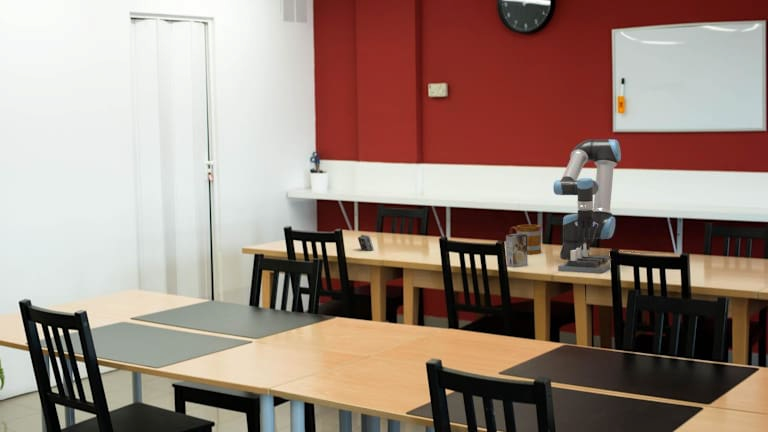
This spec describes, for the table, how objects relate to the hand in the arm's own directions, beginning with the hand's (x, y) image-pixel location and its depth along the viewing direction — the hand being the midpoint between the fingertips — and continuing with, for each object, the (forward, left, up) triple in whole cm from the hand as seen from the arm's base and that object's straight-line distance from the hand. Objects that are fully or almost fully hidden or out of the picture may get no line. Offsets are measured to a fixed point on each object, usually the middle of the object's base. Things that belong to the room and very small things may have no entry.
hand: (585, 256), depth 511 cm
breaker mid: (0, -3, -1) cm, 3 cm away
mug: (-37, -46, -6) cm, 59 cm away
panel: (0, +1, -6) cm, 6 cm away
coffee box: (+4, -35, -6) cm, 36 cm away
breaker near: (+8, -3, -1) cm, 9 cm away
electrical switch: (-17, -135, -6) cm, 136 cm away
